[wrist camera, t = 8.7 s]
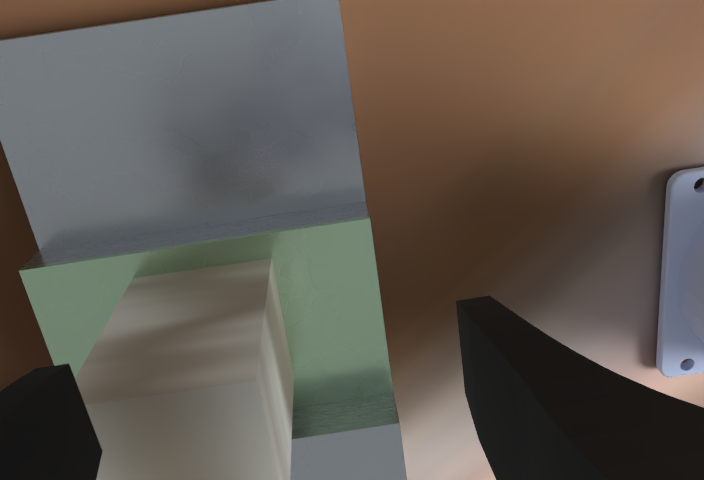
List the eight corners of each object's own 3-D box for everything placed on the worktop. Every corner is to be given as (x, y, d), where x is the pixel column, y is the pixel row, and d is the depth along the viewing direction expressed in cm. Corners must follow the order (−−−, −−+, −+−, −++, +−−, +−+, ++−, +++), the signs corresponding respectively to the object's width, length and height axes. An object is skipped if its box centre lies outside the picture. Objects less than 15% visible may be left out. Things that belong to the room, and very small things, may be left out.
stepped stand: (335, -11, 19) (343, -6, 14) (400, 470, 25) (418, 567, 21) (-19, 41, 18) (-114, 61, 14) (144, 509, 25) (112, 614, 21)
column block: (271, 258, 18) (255, 380, 13) (294, 374, 20) (288, 528, 14) (132, 278, 18) (56, 409, 13) (166, 393, 20) (111, 554, 14)
